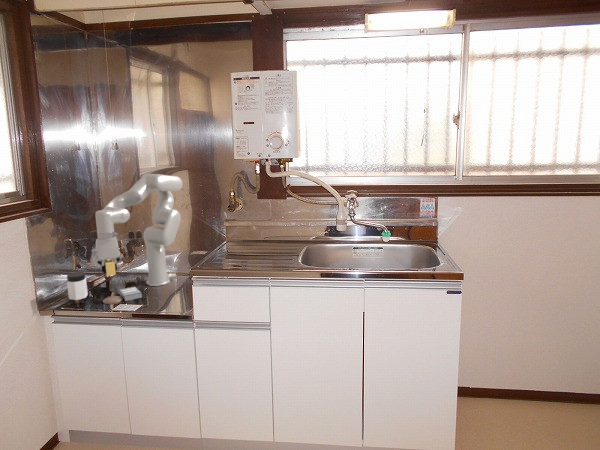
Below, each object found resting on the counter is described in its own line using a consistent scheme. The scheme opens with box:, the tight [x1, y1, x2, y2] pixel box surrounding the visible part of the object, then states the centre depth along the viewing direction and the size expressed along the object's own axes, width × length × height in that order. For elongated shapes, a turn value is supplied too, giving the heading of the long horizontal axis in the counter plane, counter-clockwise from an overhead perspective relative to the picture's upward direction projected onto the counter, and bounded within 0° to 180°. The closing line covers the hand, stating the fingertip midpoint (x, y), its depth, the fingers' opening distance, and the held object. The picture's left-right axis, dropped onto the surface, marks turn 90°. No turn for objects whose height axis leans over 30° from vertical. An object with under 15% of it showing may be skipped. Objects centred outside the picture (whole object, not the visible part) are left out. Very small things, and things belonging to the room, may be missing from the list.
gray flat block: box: [118, 286, 143, 302], centre depth 226 cm, size 8×12×3 cm, turn 35°
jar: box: [66, 271, 89, 301], centre depth 224 cm, size 9×8×12 cm
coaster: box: [102, 295, 124, 305], centre depth 220 cm, size 9×9×1 cm
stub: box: [104, 259, 117, 277], centre depth 216 cm, size 4×5×6 cm
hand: (109, 271), depth 217 cm, fingers closed on stub, 4 cm apart
